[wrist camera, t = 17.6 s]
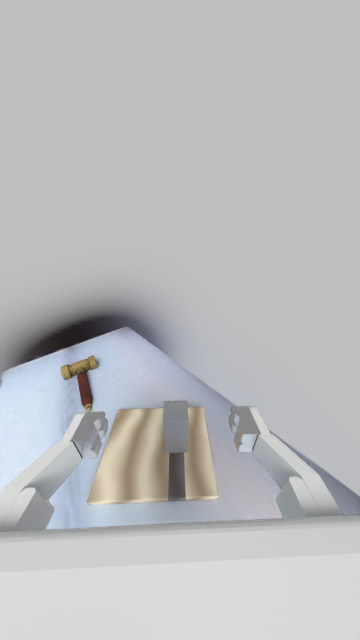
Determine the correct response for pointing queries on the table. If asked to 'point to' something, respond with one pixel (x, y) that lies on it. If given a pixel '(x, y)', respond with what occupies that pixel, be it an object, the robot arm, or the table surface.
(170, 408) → the tall grey pillar
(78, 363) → the gavel
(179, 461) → the board
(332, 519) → the robot arm
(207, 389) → the table surface
